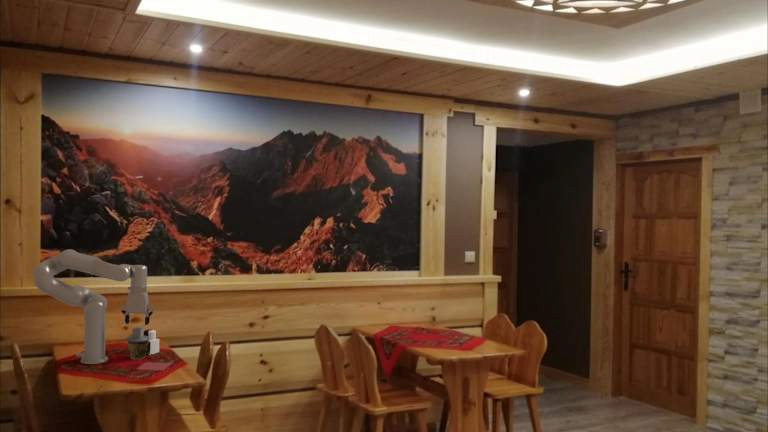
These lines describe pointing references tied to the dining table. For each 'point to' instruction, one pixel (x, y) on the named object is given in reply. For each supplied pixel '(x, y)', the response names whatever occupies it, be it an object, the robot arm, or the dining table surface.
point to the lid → (137, 335)
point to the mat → (154, 366)
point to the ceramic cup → (137, 349)
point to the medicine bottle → (152, 342)
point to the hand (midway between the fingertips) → (137, 324)
